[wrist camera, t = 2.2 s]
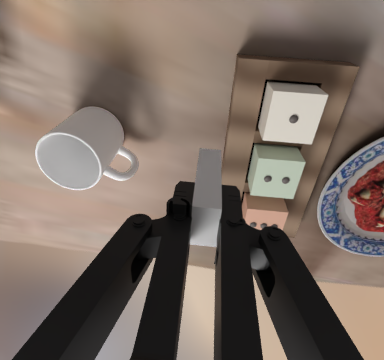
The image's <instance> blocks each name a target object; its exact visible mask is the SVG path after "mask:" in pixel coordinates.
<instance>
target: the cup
mask: <svg viewBox="0 0 384 360" xmlns="http://www.w3.org/2000/svg"><path fill="white" fill-rule="evenodd" d="M123 142H124V132H123V128H122V125H121V124H120V122H119V120H118V119H117V118H116V117H115V116H114V115H113V114H112V113H111V112H109V111H107V110H105V109H103V108H100V107H94V106H89V107H85V108H82V109H80V110H78V111H77V112H75V113H74V114H72V115H71V116H70V117H68V118H67V119H66V120H64V121H63V122H62V123H60V124H59V125H58V126H56V127H55V128H54V129H52V130H51V131H50V132H48V133H47V134H46V135H44V136H43V137H42V138H41V139H40V140H39V141H38V143H37V145H36V150H35V155H36V160H37V163H38V165H39V167H40V169H41V170H42V171H43V173H44V174H45V175H46V176H47V177H48V178H49V179H50V180H52V181H53V182H55V183H56V184H58V185H60V186H62V187H64V188H68V189H72V190H85V189H88V188H91V187H93V186H94V185H95V184H97V182H98V181H99V180H100V178H101V177H102V175H103V174H104V175H106V176H108V177H110V178H112V179H115V180H119V181H124V180H127V179H130V178H131V177H132V176H133V175H134V174H135V173H136V171H137V170H138V166H139V162H138V159H137V157H136V156H135V154H133V153H132V152H131V151H130V150H128V149H126V148H125V147H123V146H122V145H123ZM117 154H120V155H122V156H124V157H126V158H128V159H129V160H130V161H131V167H130V169H129V170H127V171H126V172H119V171H117V170H115V169H113V168H111V167H110V166H109V165H110V164H111V162H112V161H113V159H114V158H115V156H116V155H117Z"/></svg>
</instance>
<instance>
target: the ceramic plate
mask: <svg viewBox="0 0 384 360" xmlns="http://www.w3.org/2000/svg"><path fill="white" fill-rule="evenodd" d="M317 217H318V222H319V225H320V228H321V230H322V232H323V233H324V235H325V236H326V237H327V238H328V239H329V240H330V241H331V242H332V243H333V244H335V245H336V246H338V247H340V248H341V249H343V250H346V251H348V252H351V253H355V254H359V255H365V256H376V257H384V137H382V138H379V139H377V140H375V141H374V142H372V143H370V144H368V145H366V146H365V147H363V148H361V149H360V150H359V151H357V152H356V153H354V154H353V155H352V156H351V157H349V158H348V159H347V160H346V161H345V162H343V163H342V164H341V165H340V166H339V167H338V169H337V170H336V171H335V172H334V173H333V174H332V175H331V177H330V178H329V179H328V181H327V183H326V184H325V186H324V188H323V190H322V192H321V195H320V197H319V201H318V207H317Z"/></svg>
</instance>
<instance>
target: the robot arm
mask: <svg viewBox="0 0 384 360" xmlns="http://www.w3.org/2000/svg"><path fill="white" fill-rule="evenodd" d="M190 244H191V245H201V246H211V247H216V245H217V249H216V256H215V262H214V264H215V320H214V326H215V327H214V360H263V356H262V348H261V339H260V331H259V323H258V315H257V307H256V299H255V291H254V283H253V275H254V277H255V280H256V282H257V285H258V287H259V290H260V292H261V295H262V297H263V300H264V302H265V305H266V307H267V310H268V312H269V315H270V317H271V320H272V322H273V325H274V327H275V329H276V332H277V334H278V337H279V339H280V342H281V344H282V347H283V349H284V352H285V354H286V357H287V359H288V360H364V359H363V358H362V356H361V354H360V353H359V351H358V350H357V348H356V346H355V345H354V343H353V341H352V340H351V338H350V336H349V335H348V333H347V332H346V330H345V328H344V327H343V325H342V324H341V322H340V320H339V319H338V317H337V315H336V314H335V312H334V311H333V309H332V307H331V306H330V304H329V303H328V301H327V299H326V298H325V296H324V294H323V293H322V291H321V290H320V288H319V286H318V285H317V283H316V281H315V280H314V278H313V277H312V275H311V273H310V272H309V270H308V269H307V267H306V265H305V264H304V262H303V260H302V259H301V257H300V256H299V254H298V252H297V251H296V249H295V247H294V246H293V244H292V243H291V241H290V239H289V238H288V236H287V235H286V233H285V232H284V231H283V230H281V229H280V228H277V227H274V226H267V227H264V228H263V229H262V230H258V229H256V228H253V227H251V226H249V225H248V224H247V223H246V221H245V219H244V218H243V213H242V205H241V196H240V190H239V189H238V188H237V186H232V185H222V178H221V150H214V149H202V148H200V151H199V158H198V166H197V173H196V180H195V183H194V182H183V181H180V182H179V183H178V184H177V185H176V187H175V191H174V195H173V198H171V199H169V200H168V202H167V215H166V216H165V217H163V218H160V219H154V220H151V218H150V217H149V216H147V215H145V214H135V215H132V216H130V217H129V218H128V219H127V220H126V221H125V222H124V224H123V225H122V226H121V227H120V228H119V230H118V231H117V232H116V233H115V235H114V236H113V237H112V238H111V239H110V241H109V242H108V243H107V244H106V245H105V247H104V248H103V249H102V250H101V252H100V253H99V254H98V255H97V256H96V258H95V259H94V260H93V261H92V263H91V264H90V265H89V266H88V267H87V269H86V270H85V271H84V272H83V274H82V275H81V276H80V277H79V278H78V280H77V281H76V282H75V283H74V285H73V286H72V287H71V288H70V289H69V291H68V292H67V293H66V294H65V295H64V297H63V298H62V299H61V300H60V302H59V303H58V304H57V305H56V306H55V308H54V309H53V310H52V311H51V313H50V314H49V315H48V316H47V317H46V319H45V320H44V321H43V322H42V324H41V325H40V326H39V327H38V328H37V330H36V331H35V332H34V333H33V334H32V336H31V337H30V338H29V339H28V341H27V342H26V343H25V344H24V345H23V347H22V348H21V349H20V350H19V352H18V353H17V354H16V355H15V356H14V358H13V359H12V360H95V358H96V356H97V355H98V353H99V351H100V349H101V348H102V346H103V344H104V343H105V341H106V339H107V337H108V336H109V334H110V332H111V330H112V329H113V327H114V325H115V324H116V322H117V320H118V318H119V317H120V315H121V313H122V311H123V310H124V308H125V306H126V305H127V303H128V301H129V299H130V298H131V296H132V294H133V293H134V291H135V289H136V287H137V286H138V284H139V282H140V281H141V279H142V277H143V275H144V274H145V272H146V270H147V269H148V267H149V265H150V263H151V262H152V259H153V258H156V260H155V264H154V268H153V272H152V276H151V281H150V284H149V288H148V292H147V297H146V301H145V304H144V309H143V312H142V317H141V320H140V325H139V329H138V333H137V337H136V341H135V345H134V349H133V353H132V356H131V358H130V360H176V357H177V349H178V341H179V333H180V324H181V316H182V307H183V299H184V290H185V282H186V274H187V265H188V257H189V246H190ZM252 273H253V274H252Z"/></svg>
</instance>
